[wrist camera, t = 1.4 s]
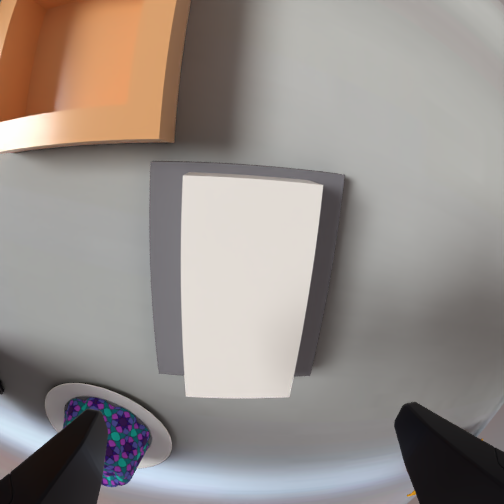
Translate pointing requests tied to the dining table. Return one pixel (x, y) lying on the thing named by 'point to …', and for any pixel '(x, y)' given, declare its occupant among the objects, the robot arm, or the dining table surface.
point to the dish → (89, 72)
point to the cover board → (245, 281)
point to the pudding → (113, 429)
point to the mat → (169, 254)
